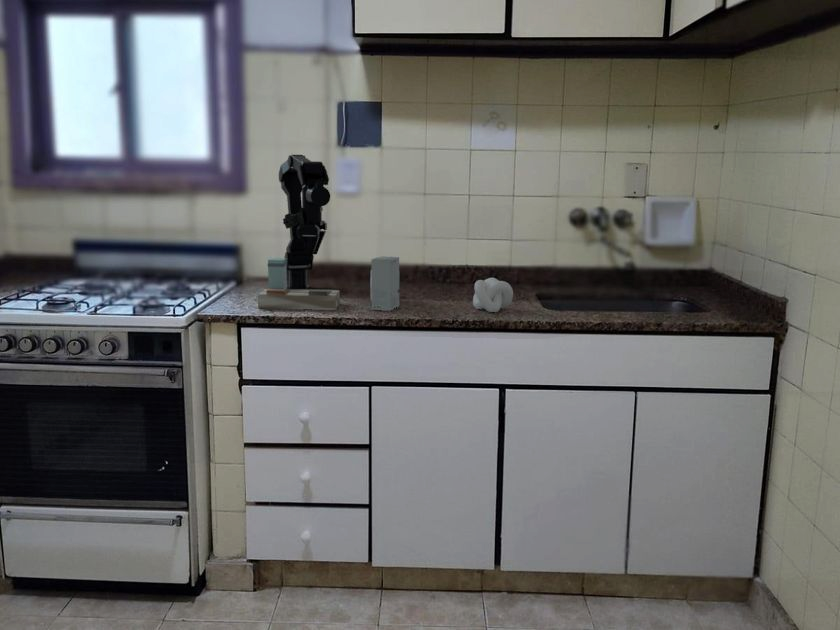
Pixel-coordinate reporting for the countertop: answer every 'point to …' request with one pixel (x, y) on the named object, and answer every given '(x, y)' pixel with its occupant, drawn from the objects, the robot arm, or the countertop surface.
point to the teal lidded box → (277, 273)
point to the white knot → (492, 294)
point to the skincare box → (385, 283)
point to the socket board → (299, 299)
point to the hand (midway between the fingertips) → (312, 256)
